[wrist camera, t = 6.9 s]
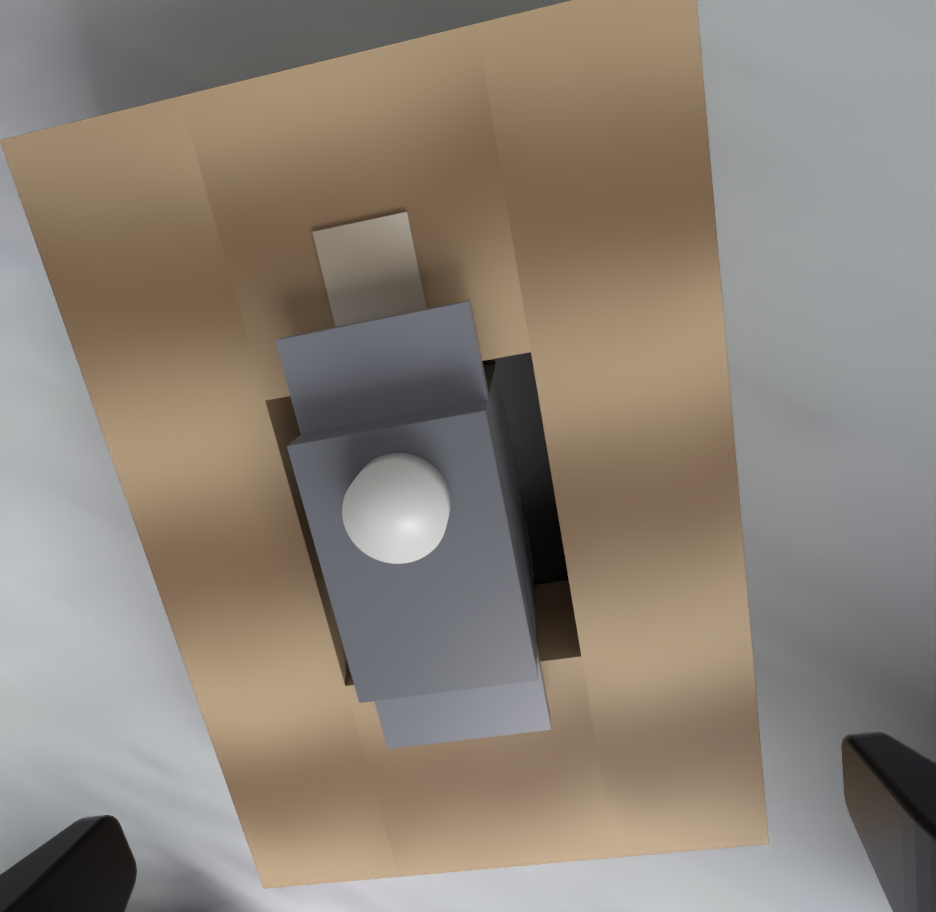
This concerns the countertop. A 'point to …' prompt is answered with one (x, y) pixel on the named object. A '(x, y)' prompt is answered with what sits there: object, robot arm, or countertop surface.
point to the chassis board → (500, 335)
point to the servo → (419, 523)
